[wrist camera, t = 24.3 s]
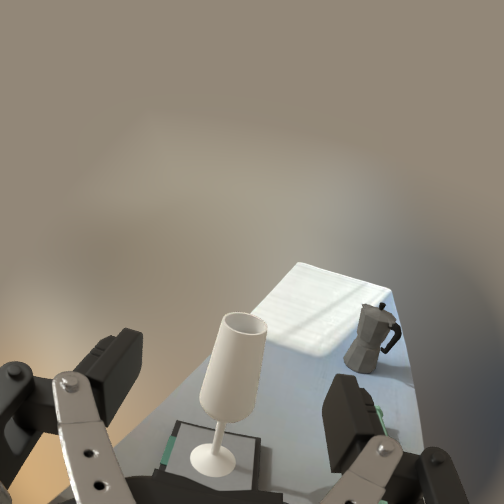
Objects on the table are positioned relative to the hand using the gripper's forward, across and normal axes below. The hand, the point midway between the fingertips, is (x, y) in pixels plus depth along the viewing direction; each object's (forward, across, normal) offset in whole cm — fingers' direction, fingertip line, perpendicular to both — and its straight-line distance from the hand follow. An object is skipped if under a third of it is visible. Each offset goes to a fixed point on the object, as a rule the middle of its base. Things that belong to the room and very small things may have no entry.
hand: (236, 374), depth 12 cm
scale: (+19, 0, -34) cm, 39 cm away
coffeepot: (+57, +33, -34) cm, 75 cm away
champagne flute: (+19, 0, -32) cm, 37 cm away
